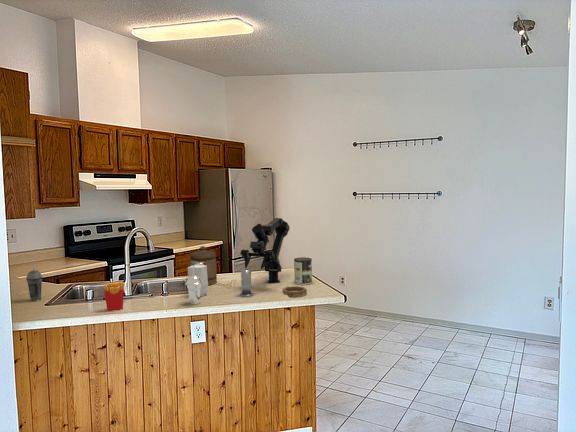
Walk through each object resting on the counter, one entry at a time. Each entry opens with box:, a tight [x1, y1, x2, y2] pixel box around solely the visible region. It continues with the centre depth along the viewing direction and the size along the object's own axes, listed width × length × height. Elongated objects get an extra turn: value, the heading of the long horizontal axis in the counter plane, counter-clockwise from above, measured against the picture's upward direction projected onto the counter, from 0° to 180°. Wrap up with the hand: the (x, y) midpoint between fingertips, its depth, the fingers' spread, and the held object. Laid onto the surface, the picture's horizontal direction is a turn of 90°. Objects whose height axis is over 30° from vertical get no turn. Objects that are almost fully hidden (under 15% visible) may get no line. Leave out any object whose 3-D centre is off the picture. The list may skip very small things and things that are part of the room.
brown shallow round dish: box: [282, 285, 308, 298], centre depth 229 cm, size 13×13×3 cm
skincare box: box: [187, 265, 209, 298], centre depth 230 cm, size 8×7×16 cm
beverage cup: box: [25, 261, 44, 302], centre depth 225 cm, size 7×7×20 cm
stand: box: [234, 292, 259, 299], centre depth 225 cm, size 9×9×1 cm
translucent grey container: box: [189, 245, 218, 287], centre depth 256 cm, size 15×15×22 cm
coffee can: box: [293, 256, 313, 286], centre depth 253 cm, size 10×10×14 cm
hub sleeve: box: [239, 268, 254, 298], centre depth 225 cm, size 7×7×13 cm
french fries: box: [103, 280, 126, 312], centre depth 206 cm, size 9×4×13 cm, turn 109°
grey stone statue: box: [185, 262, 204, 305], centre depth 215 cm, size 8×9×20 cm
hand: (253, 268), depth 232 cm, fingers open, 9 cm apart
